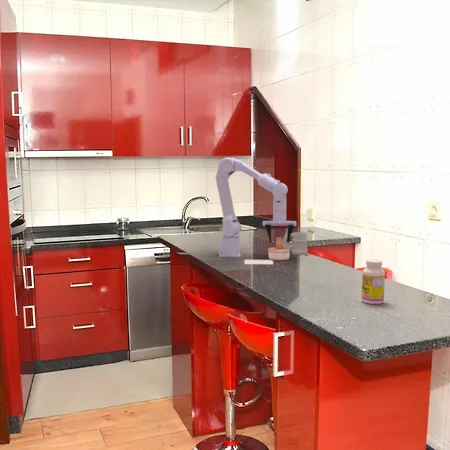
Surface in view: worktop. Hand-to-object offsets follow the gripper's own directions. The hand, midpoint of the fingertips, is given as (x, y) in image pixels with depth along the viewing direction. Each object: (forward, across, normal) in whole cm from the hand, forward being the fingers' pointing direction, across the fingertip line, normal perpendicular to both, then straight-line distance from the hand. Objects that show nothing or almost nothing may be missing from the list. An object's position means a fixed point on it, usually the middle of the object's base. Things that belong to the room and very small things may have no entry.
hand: (279, 242), depth 241 cm
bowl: (+7, 0, 0) cm, 7 cm away
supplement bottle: (+8, +25, -72) cm, 77 cm away
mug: (+8, +8, +12) cm, 16 cm away
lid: (+4, 0, -1) cm, 4 cm away
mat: (+7, -9, -10) cm, 15 cm away
